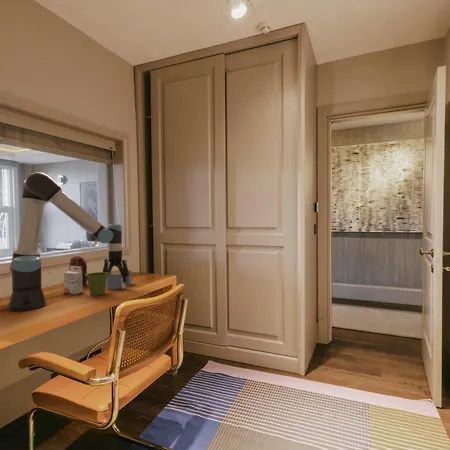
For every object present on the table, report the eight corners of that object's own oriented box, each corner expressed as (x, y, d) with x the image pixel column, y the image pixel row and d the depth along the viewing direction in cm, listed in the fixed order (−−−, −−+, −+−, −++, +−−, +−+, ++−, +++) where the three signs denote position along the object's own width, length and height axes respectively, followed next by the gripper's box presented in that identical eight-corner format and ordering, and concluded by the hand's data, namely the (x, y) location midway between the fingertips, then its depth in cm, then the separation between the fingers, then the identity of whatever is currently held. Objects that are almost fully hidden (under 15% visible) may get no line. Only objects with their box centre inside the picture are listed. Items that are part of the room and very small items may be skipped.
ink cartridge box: (63, 293, 171) (63, 267, 170) (70, 291, 176) (70, 265, 175) (76, 294, 169) (76, 267, 168) (82, 292, 173) (82, 266, 173)
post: (129, 286, 189) (129, 271, 188) (121, 285, 190) (121, 271, 190) (135, 284, 194) (134, 269, 194) (126, 283, 196) (126, 269, 196)
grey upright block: (116, 289, 180) (116, 274, 179) (108, 288, 181) (108, 274, 181) (122, 287, 185) (122, 273, 185) (114, 286, 187) (114, 272, 187)
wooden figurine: (65, 286, 189) (65, 256, 188) (71, 283, 195) (71, 255, 195) (84, 286, 188) (83, 257, 188) (89, 284, 194) (89, 255, 194)
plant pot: (109, 290, 177) (109, 271, 176) (108, 295, 165) (108, 275, 165) (86, 292, 173) (86, 272, 172) (84, 297, 162) (84, 276, 161)
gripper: (135, 250, 183) (135, 287, 184) (103, 249, 189) (103, 285, 190) (128, 251, 176) (128, 290, 177) (95, 250, 182) (95, 287, 183)
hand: (115, 287), depth 183 cm, fingers open, 10 cm apart
